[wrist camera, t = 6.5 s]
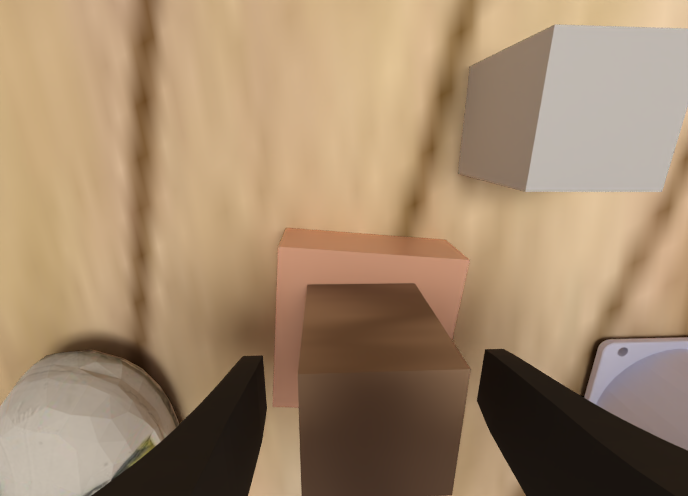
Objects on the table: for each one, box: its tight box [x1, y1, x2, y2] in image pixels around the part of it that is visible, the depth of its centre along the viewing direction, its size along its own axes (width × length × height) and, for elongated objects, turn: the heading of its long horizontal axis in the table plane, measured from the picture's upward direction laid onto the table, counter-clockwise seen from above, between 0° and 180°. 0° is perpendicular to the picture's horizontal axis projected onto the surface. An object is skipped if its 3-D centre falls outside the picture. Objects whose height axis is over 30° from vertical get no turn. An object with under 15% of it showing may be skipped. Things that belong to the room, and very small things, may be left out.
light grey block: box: [458, 25, 688, 192], centre depth 11 cm, size 4×4×5 cm
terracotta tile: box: [273, 228, 470, 408], centre depth 15 cm, size 7×7×3 cm
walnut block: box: [298, 283, 471, 496], centre depth 11 cm, size 4×4×5 cm
